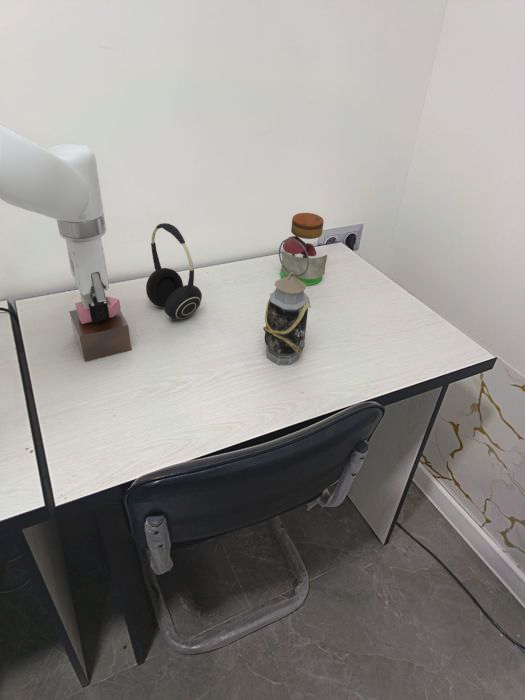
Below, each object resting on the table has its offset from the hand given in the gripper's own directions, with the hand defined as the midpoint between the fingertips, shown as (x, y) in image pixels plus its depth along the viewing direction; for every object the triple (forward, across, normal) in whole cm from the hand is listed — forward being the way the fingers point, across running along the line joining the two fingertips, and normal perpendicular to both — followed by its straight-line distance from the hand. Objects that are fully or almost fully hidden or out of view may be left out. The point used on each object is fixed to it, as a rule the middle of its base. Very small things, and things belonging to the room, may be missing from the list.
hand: (97, 313), depth 94 cm
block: (+7, 0, 0) cm, 7 cm away
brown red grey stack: (+7, -8, +51) cm, 52 cm away
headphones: (+7, -5, +17) cm, 19 cm away
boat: (0, 0, 0) cm, 0 cm away
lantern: (+7, +18, +31) cm, 36 cm away
